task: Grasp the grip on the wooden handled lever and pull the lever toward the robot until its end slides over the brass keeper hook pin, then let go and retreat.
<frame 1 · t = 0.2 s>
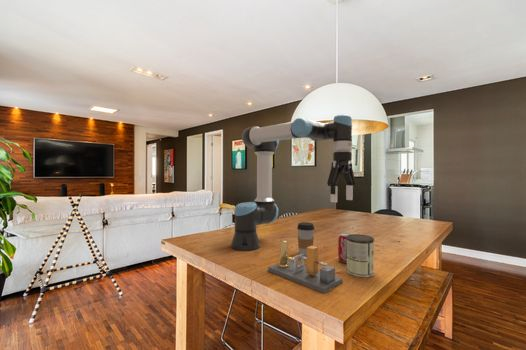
hand: (341, 201, 108), 28 cm above the table, fingers open, 13 cm apart
soda can: (346, 261, 113), on the table
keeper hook: (283, 269, 103), resting on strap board
coffee can: (359, 272, 101), on the table
coffee cup: (305, 254, 122), on the table
wooden handled lever: (310, 259, 94), point 7 cm above the table, slide at 0.0 cm
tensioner: (327, 285, 88), resting on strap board
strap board: (303, 276, 96), on the table
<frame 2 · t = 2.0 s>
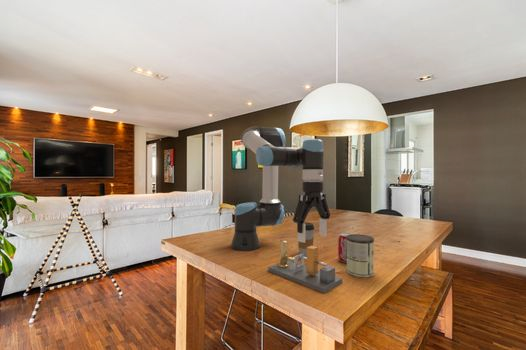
hand: (312, 238, 93), 15 cm above the table, fingers open, 13 cm apart
nothing on the table moved.
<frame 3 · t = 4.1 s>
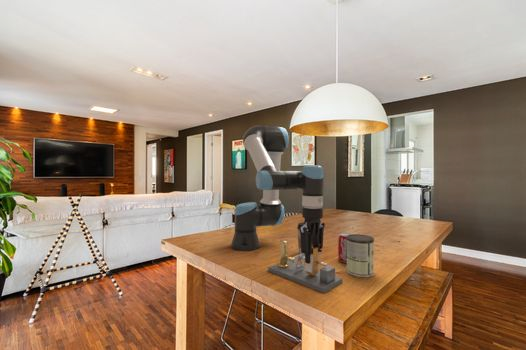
hand: (312, 270, 93), 4 cm above the table, fingers closed on wooden handled lever, 3 cm apart
wooden handled lever: (310, 259, 94), point 7 cm above the table, slide at 0.0 cm, touching gripper
everything else where it was.
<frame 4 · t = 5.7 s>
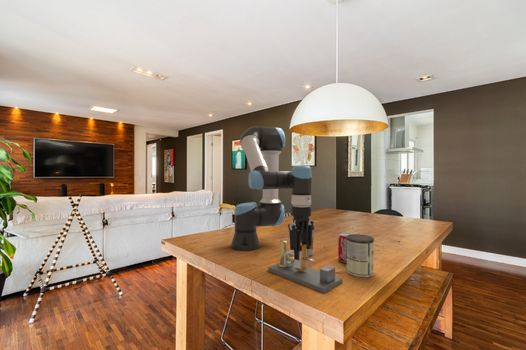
hand: (300, 266, 97), 4 cm above the table, fingers closed on wooden handled lever, 3 cm apart
wooden handled lever: (299, 256, 97), point 7 cm above the table, slide at 5.1 cm, touching gripper
everything else where it was.
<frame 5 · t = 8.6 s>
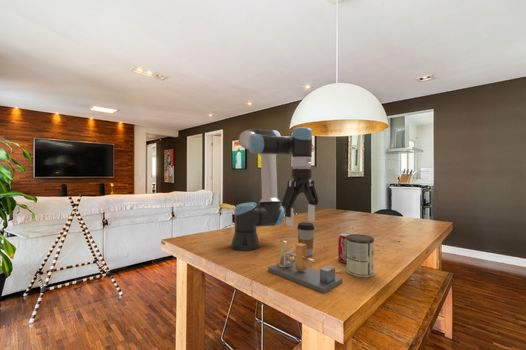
hand: (300, 223, 97), 20 cm above the table, fingers open, 13 cm apart
wooden handled lever: (299, 256, 97), point 7 cm above the table, slide at 5.2 cm
everything else where it was.
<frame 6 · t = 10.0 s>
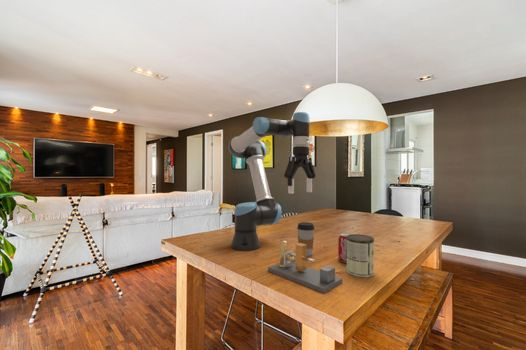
hand: (300, 192, 115), 31 cm above the table, fingers open, 13 cm apart
nothing on the table moved.
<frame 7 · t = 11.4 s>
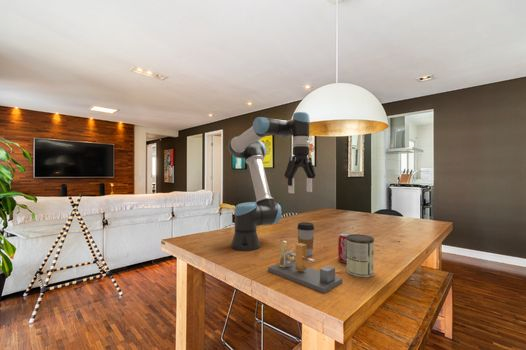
hand: (300, 192, 116), 31 cm above the table, fingers open, 13 cm apart
nothing on the table moved.
at the end: wooden handled lever slide at 5.2 cm; the gripper is holding nothing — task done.
